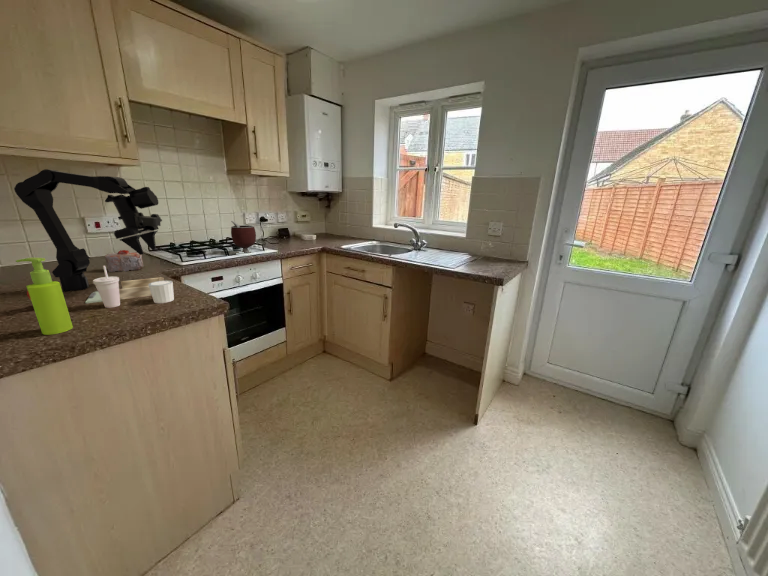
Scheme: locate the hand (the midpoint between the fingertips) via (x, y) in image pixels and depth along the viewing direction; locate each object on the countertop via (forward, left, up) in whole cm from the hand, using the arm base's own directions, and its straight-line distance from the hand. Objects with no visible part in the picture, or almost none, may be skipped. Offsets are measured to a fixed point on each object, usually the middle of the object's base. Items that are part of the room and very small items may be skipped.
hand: (148, 252), depth 119 cm
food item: (-13, +41, -15) cm, 45 cm away
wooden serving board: (-3, -7, -14) cm, 16 cm away
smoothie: (-10, -20, -14) cm, 27 cm away
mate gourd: (+43, +61, -14) cm, 76 cm away
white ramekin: (+4, -22, -14) cm, 27 cm away
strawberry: (-28, -12, -14) cm, 34 cm away
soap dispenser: (-20, -35, -14) cm, 43 cm away
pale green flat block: (-14, -7, -14) cm, 21 cm away
